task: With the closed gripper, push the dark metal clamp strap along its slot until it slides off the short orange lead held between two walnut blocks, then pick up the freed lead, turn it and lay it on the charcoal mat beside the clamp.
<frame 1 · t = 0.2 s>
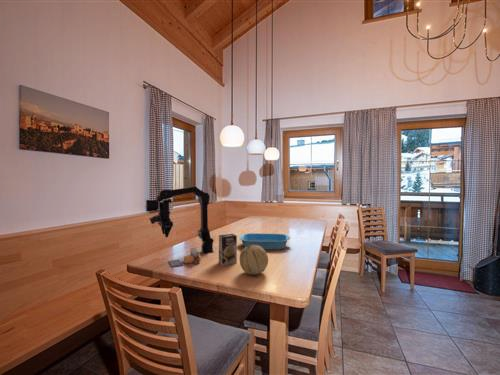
hand: (165, 235, 143), 14 cm above the table, tool pointing down, fingers open, 9 cm apart
mat: (175, 263, 134), on the table
clamp strap: (194, 252, 138), point 6 cm above the table, slide at 0.0 cm
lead: (192, 262, 137), on the table
coffee box: (227, 263, 136), on the table
clamp blocks: (194, 261, 138), on the table
cantaloupe: (253, 273, 120), on the table
casserole dish: (264, 246, 170), on the table
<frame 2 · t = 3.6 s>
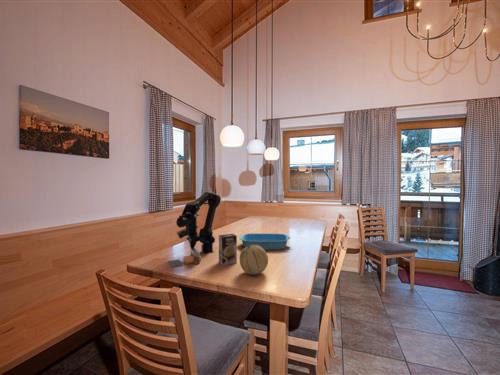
hand: (192, 249, 142), 6 cm above the table, tool pointing down, fingers closed
clamp strap: (195, 252, 137), point 6 cm above the table, slide at 0.9 cm, touching gripper
everything else where it was.
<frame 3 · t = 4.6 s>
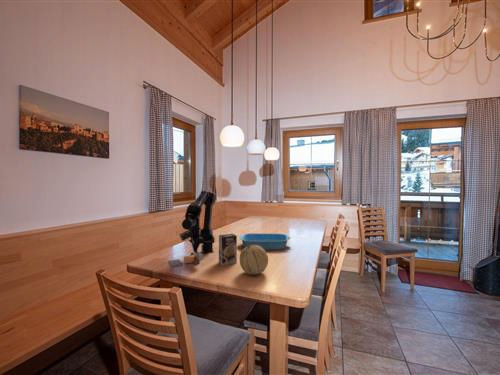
hand: (194, 252, 137), 6 cm above the table, tool pointing down, fingers closed
clamp strap: (198, 255, 132), point 6 cm above the table, slide at 6.8 cm, touching gripper
everything else where it was.
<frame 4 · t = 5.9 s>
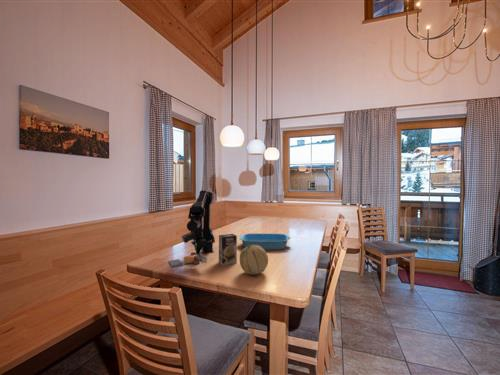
hand: (197, 254, 133), 6 cm above the table, tool pointing down, fingers closed
clamp strap: (201, 257, 127), point 6 cm above the table, slide at 12.0 cm, touching gripper
everything else where it was.
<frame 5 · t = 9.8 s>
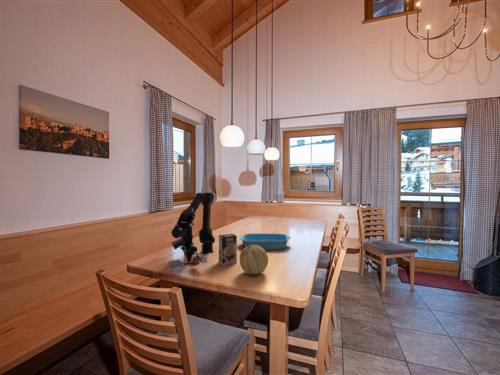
hand: (187, 260, 136), 1 cm above the table, tool pointing down, fingers closed on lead, 4 cm apart
clamp strap: (201, 258, 127), point 6 cm above the table, slide at 12.2 cm
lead: (192, 262, 137), on the table, touching gripper
everything else where it was.
when the fingers open (4 cm above the table, at t = 14.0 s): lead drops 1 cm, resting on mat.
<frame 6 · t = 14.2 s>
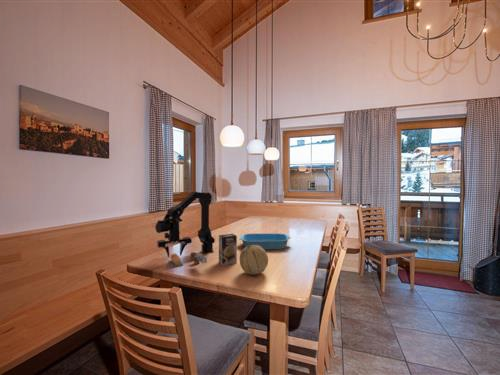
hand: (174, 256, 137), 4 cm above the table, tool pointing down, fingers open, 6 cm apart
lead: (175, 262, 134), point 1 cm above the table, touching mat
everything else where it was.
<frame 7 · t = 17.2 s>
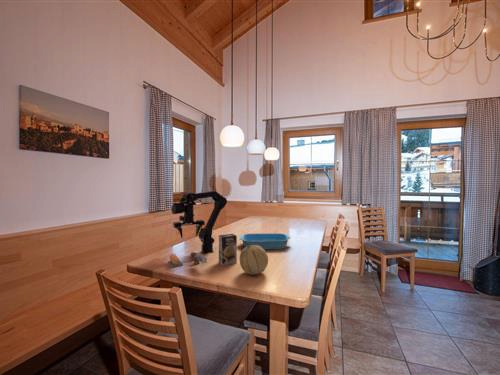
hand: (189, 237, 147), 12 cm above the table, tool pointing down, fingers open, 9 cm apart
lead: (175, 262, 134), point 1 cm above the table, tilted 21°, touching mat
everything else where it was.
at the end: clamp strap slide at 12.2 cm; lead inside the target area (0.0 cm from its centre), point 0.9 cm above the table; the gripper is holding nothing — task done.
